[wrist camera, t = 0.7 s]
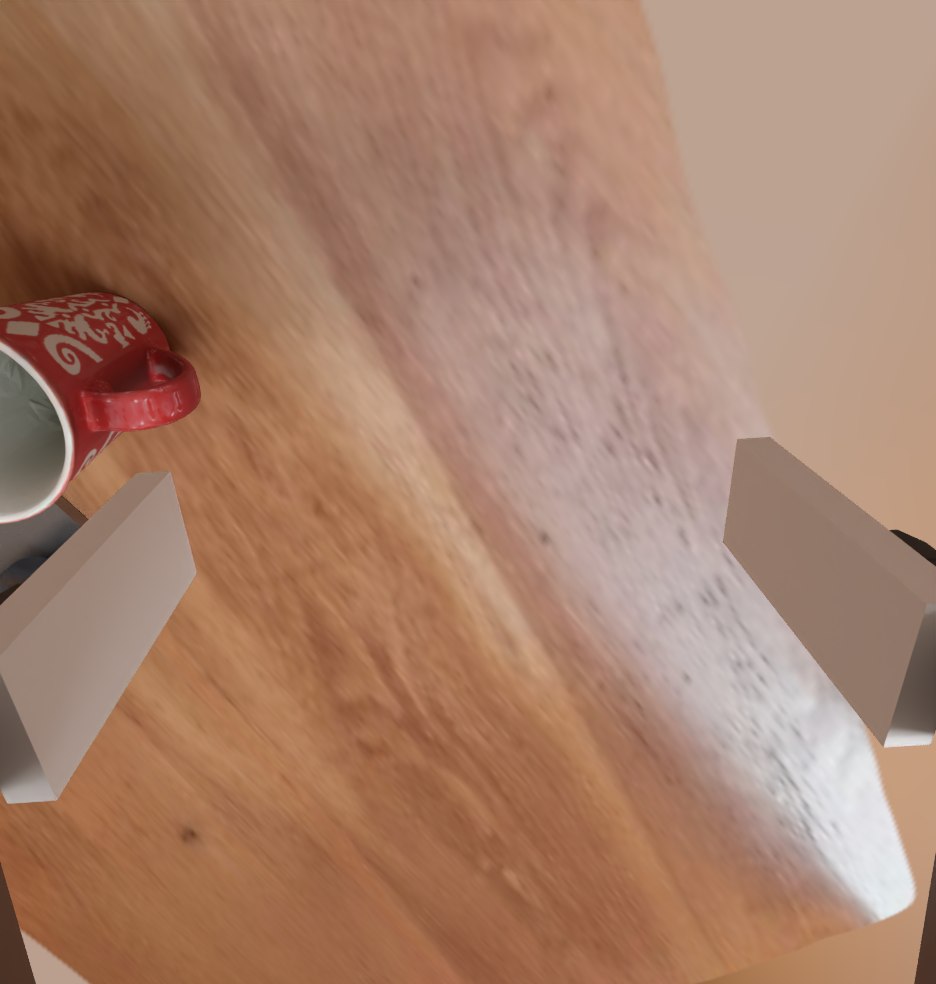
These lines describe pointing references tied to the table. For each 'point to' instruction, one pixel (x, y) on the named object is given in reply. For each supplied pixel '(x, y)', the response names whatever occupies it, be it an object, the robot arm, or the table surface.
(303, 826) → the table surface
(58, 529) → the plate
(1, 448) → the mug
